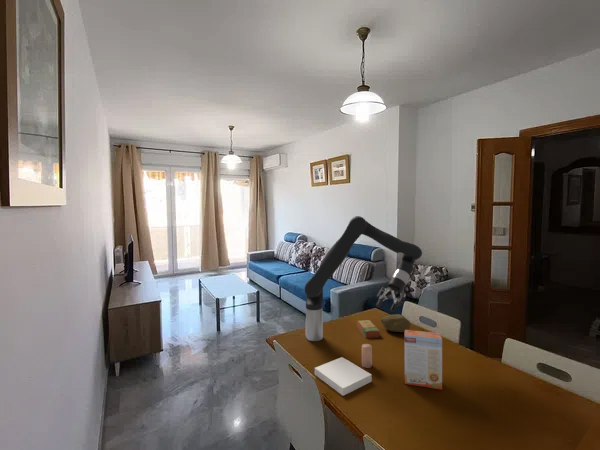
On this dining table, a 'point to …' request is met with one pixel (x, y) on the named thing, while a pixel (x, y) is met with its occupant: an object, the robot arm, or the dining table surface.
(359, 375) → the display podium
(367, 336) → the carton
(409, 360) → the cracker box
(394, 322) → the decorative stone
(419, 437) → the dining table surface
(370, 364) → the canister
